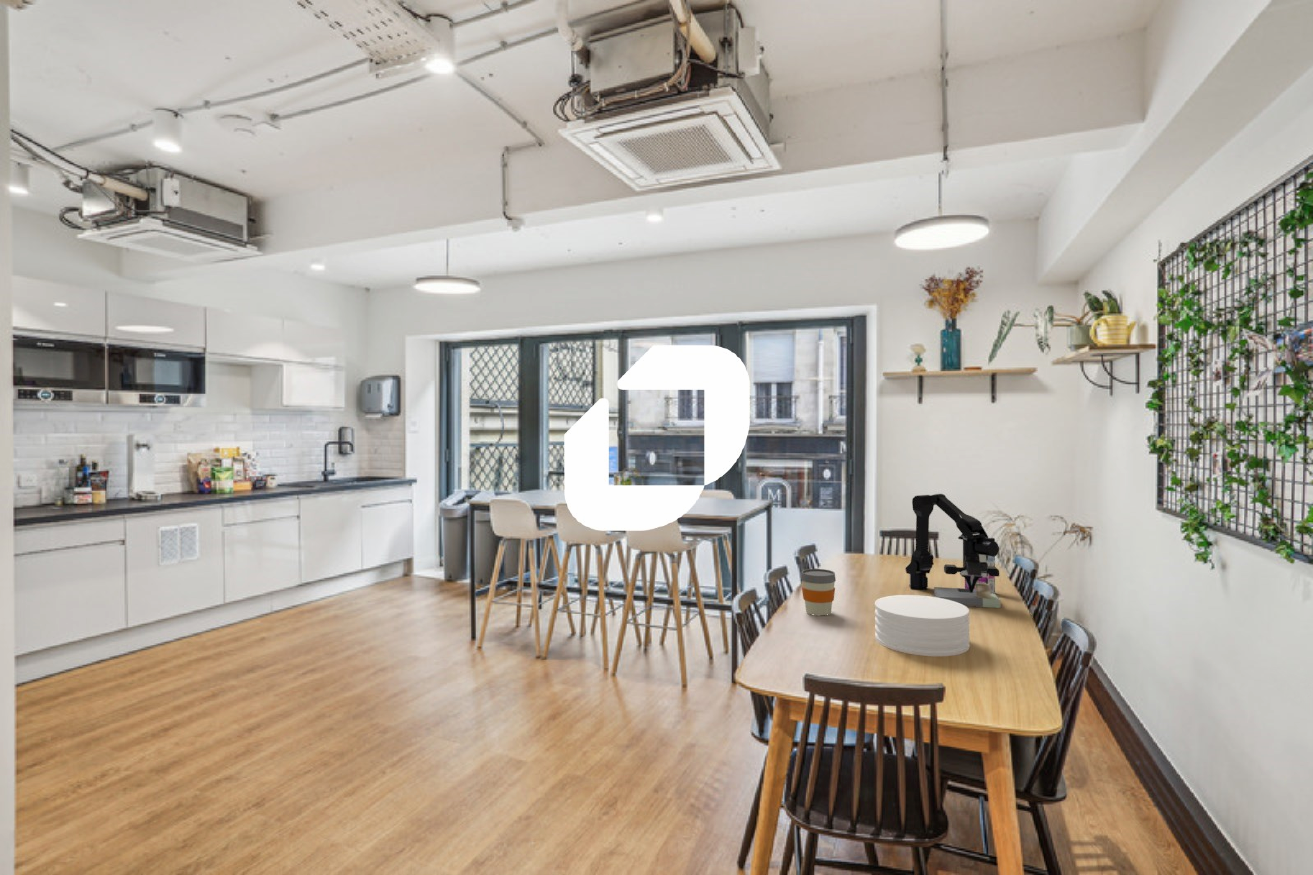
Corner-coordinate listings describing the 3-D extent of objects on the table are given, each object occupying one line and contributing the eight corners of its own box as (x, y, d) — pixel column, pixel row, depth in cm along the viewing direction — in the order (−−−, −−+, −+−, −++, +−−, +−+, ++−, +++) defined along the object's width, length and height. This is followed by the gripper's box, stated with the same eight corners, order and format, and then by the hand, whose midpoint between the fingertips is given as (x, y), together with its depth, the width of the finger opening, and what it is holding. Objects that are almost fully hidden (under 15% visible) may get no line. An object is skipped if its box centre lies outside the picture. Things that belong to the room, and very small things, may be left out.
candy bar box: (995, 593, 268) (995, 553, 268) (987, 594, 266) (987, 554, 266) (972, 587, 279) (972, 548, 278) (964, 588, 276) (963, 549, 276)
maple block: (977, 597, 251) (977, 585, 250) (975, 594, 255) (975, 583, 255) (990, 598, 249) (990, 586, 249) (988, 595, 254) (988, 583, 254)
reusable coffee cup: (832, 608, 249) (832, 568, 249) (838, 617, 237) (838, 576, 237) (799, 607, 251) (798, 568, 251) (803, 617, 238) (803, 576, 238)
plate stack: (911, 661, 193) (911, 622, 193) (858, 632, 220) (857, 598, 220) (990, 651, 201) (990, 613, 200) (929, 625, 228) (928, 592, 227)
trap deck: (940, 604, 252) (940, 596, 252) (934, 594, 268) (934, 587, 268) (1000, 607, 247) (1000, 600, 247) (990, 597, 262) (990, 589, 262)
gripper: (948, 555, 248) (948, 596, 248) (1002, 557, 243) (1002, 599, 243) (943, 549, 259) (943, 589, 259) (995, 551, 254) (996, 592, 254)
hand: (971, 592), depth 253 cm, fingers closed
